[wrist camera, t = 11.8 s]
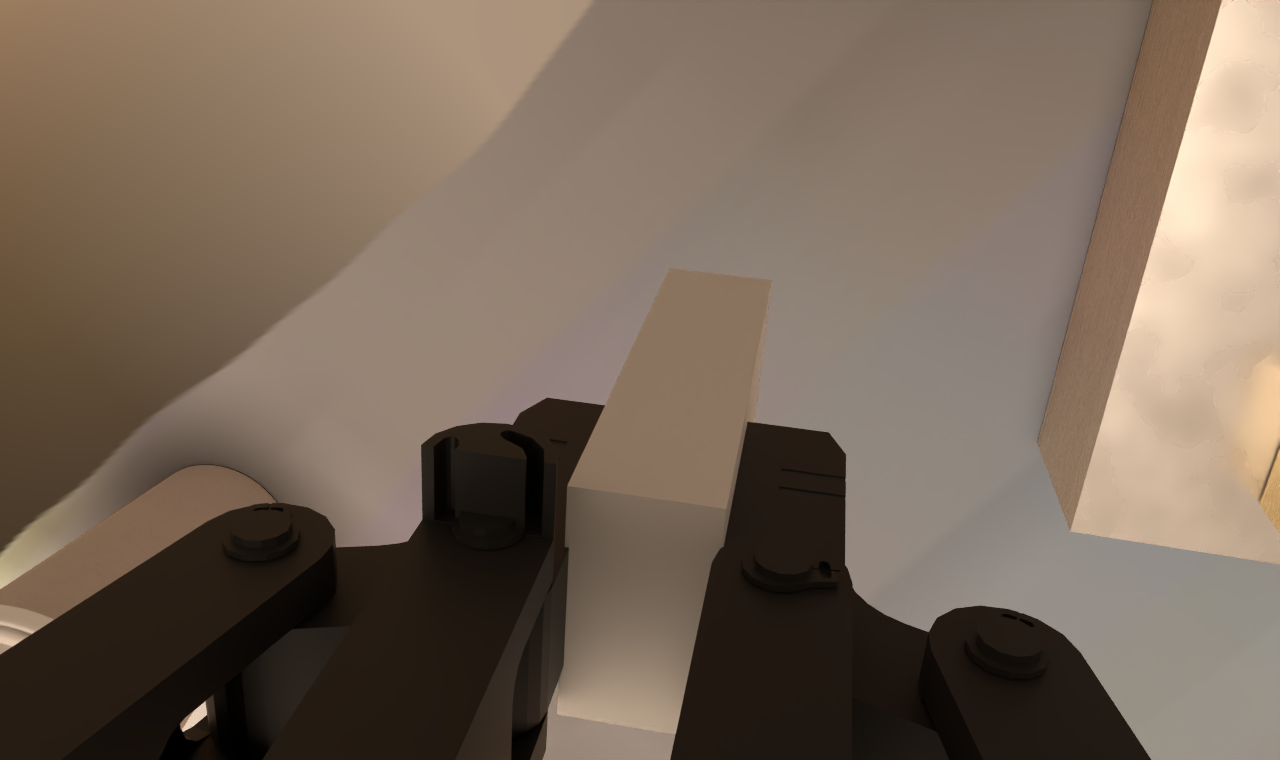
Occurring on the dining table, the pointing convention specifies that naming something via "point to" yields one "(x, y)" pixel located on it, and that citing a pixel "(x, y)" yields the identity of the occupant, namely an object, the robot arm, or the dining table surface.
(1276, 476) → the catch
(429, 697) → the robot arm
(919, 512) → the dining table surface
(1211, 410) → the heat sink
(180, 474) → the coffee cup
